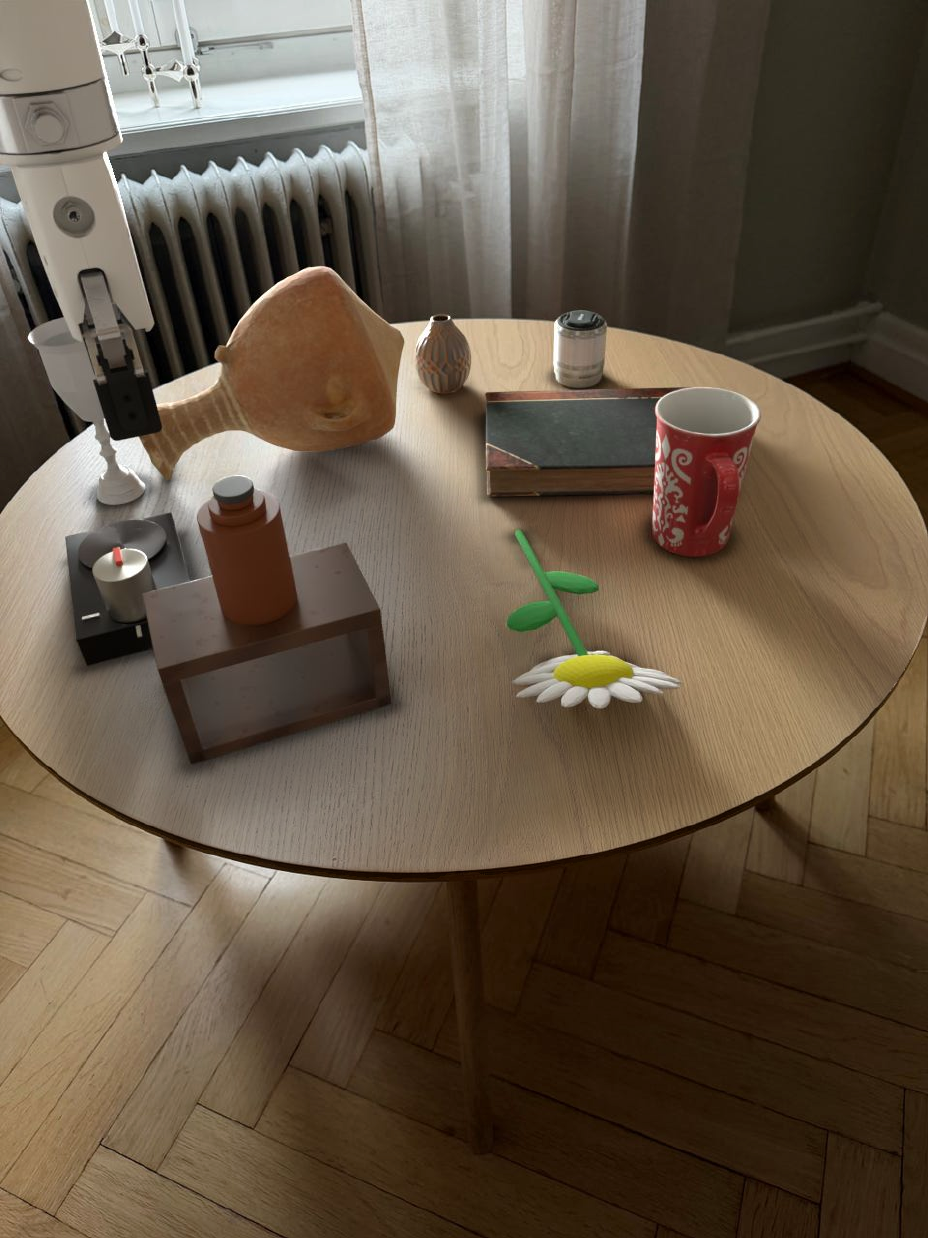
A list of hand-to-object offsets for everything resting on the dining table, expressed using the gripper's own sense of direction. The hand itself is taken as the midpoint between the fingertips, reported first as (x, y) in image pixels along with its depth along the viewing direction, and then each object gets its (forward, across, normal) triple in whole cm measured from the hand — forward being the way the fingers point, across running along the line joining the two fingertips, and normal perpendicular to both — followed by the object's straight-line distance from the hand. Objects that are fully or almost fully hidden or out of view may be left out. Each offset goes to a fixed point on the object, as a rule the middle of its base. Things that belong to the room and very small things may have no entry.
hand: (127, 401), depth 62 cm
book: (+24, +16, -47) cm, 55 cm away
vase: (+24, +38, -37) cm, 58 cm away
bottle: (+14, -6, -5) cm, 16 cm away
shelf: (+24, -6, -5) cm, 26 cm away
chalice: (+24, +31, +3) cm, 39 cm away
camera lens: (+24, +32, -53) cm, 67 cm away
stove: (+24, +12, +4) cm, 27 cm away
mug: (+24, -4, -46) cm, 52 cm away
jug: (+24, +32, -15) cm, 43 cm away
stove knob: (+21, +6, +4) cm, 23 cm away
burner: (+21, +16, +4) cm, 27 cm away
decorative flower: (+24, -9, -29) cm, 39 cm away
